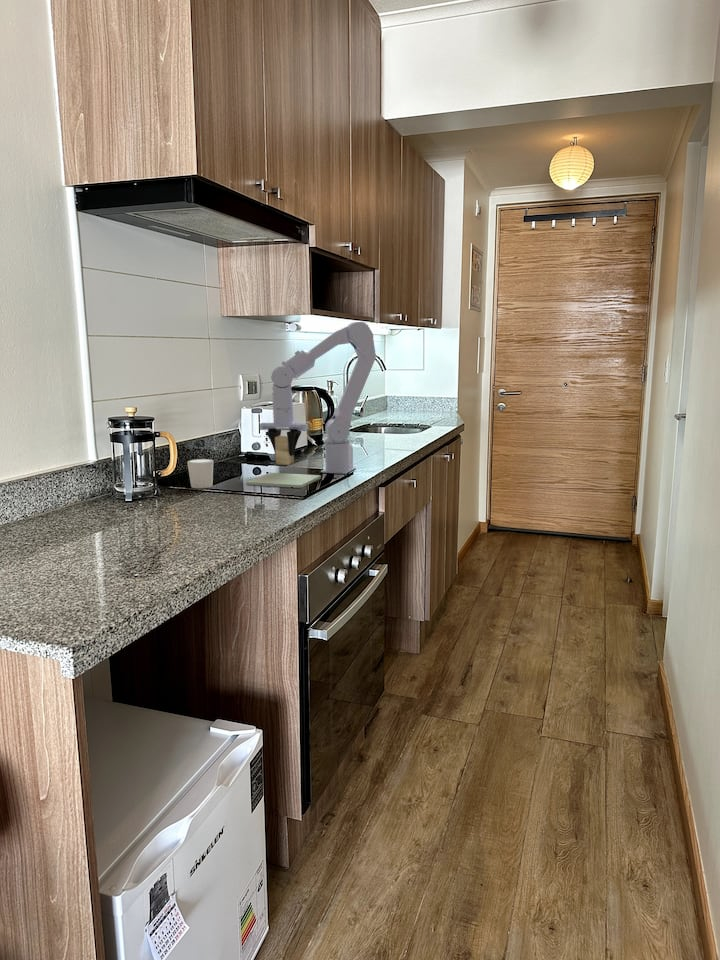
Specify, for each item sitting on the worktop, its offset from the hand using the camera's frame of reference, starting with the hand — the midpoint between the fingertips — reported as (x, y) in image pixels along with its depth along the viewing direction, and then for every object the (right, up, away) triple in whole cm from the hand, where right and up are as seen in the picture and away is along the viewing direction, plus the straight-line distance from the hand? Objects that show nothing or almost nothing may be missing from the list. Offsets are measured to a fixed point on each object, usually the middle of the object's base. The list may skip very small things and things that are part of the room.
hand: (284, 454), depth 198 cm
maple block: (0, -3, 0) cm, 2 cm away
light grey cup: (-21, -9, -16) cm, 28 cm away
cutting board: (+1, -8, -11) cm, 13 cm away
